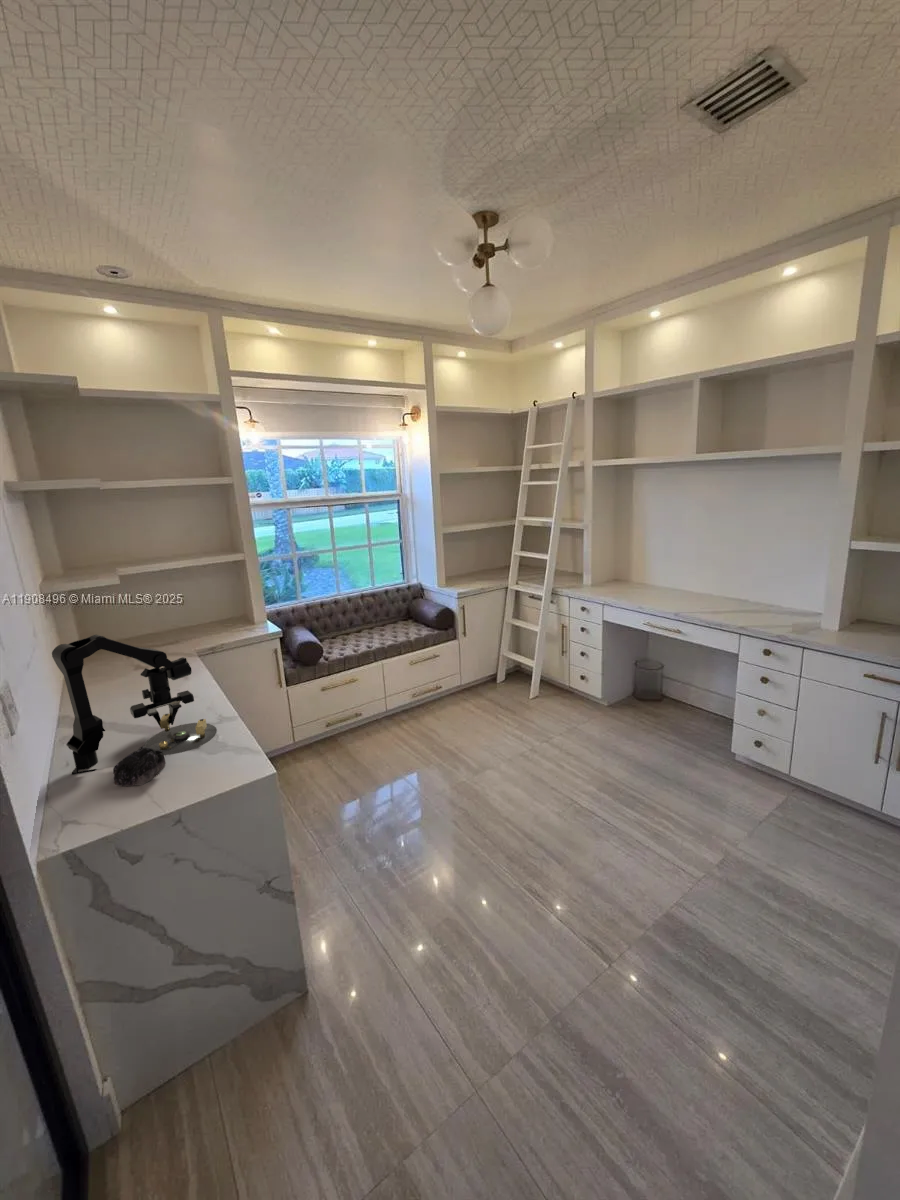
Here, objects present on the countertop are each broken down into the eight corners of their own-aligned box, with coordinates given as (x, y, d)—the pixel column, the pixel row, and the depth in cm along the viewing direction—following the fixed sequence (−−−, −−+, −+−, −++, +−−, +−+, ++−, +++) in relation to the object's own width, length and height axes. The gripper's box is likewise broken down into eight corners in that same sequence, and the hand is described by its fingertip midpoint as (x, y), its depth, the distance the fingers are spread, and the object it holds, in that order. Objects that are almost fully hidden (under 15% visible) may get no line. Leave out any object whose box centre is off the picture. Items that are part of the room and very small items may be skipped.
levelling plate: (211, 751, 164) (210, 742, 163) (135, 763, 159) (134, 753, 158) (221, 721, 185) (220, 713, 184) (155, 731, 179) (154, 723, 179)
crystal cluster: (110, 778, 152) (101, 750, 149) (158, 757, 161) (151, 730, 158) (122, 799, 143) (113, 770, 140) (173, 775, 152) (165, 748, 149)
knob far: (169, 733, 174) (166, 719, 173) (162, 734, 174) (159, 720, 172) (172, 726, 179) (170, 713, 178) (165, 727, 179) (163, 714, 178)
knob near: (204, 739, 169) (202, 725, 168) (197, 740, 168) (195, 726, 167) (207, 732, 174) (205, 718, 173) (200, 733, 174) (198, 719, 172)
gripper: (181, 671, 184) (188, 710, 188) (122, 686, 172) (131, 727, 176) (191, 679, 176) (197, 720, 180) (130, 695, 164) (138, 738, 168)
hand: (166, 726), depth 176 cm, fingers closed on knob far, 3 cm apart
